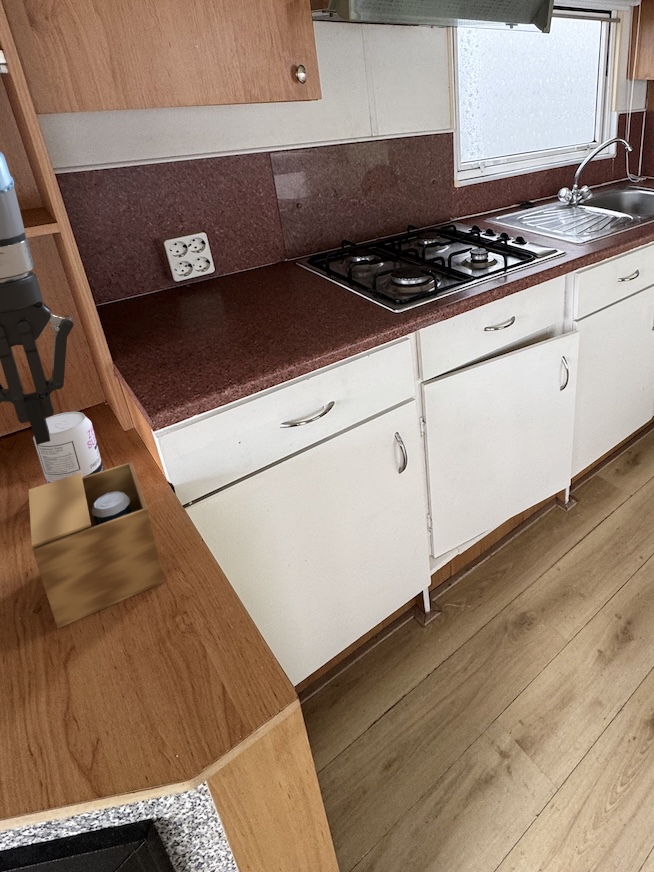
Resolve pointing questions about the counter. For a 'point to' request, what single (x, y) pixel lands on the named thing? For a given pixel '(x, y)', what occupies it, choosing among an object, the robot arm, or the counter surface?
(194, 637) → the counter surface
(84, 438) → the supplement can
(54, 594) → the open box
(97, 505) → the beer can
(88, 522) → the flap
